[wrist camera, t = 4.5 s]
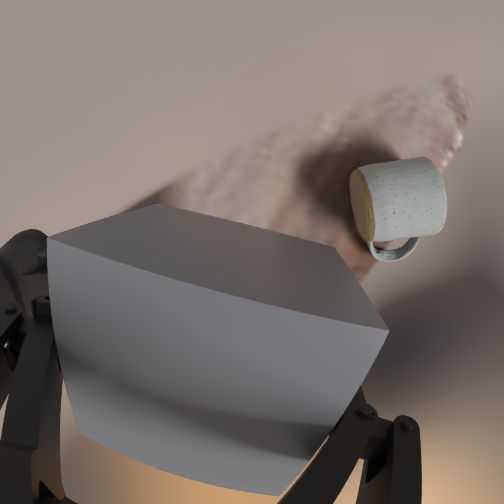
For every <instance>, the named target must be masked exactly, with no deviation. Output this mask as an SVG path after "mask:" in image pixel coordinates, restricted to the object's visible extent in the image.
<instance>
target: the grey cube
mask: <svg viewBox="0 0 504 504" xmlns="http://www.w3.org/2000/svg"><path fill="white" fill-rule="evenodd" d="M47 266H48V284H49V296H50V306H51V314H52V322H53V329H54V335H55V341H56V346H57V352H58V357H59V362H60V366H61V371H62V375H63V379H64V383H65V387H66V391H67V394H68V398H69V401H70V405H71V408H72V411H73V414H74V417H75V420H76V423H77V426H78V429H79V432H80V434H82V435H84V436H86V437H87V438H89V439H91V440H93V441H95V442H97V443H99V444H101V445H103V446H105V447H107V448H109V449H111V450H113V451H116V452H118V453H120V454H122V455H124V456H127V457H129V458H131V459H134V460H136V461H139V462H141V463H144V464H146V465H149V466H152V467H154V468H157V469H160V470H163V471H166V472H169V473H172V474H175V475H178V476H181V477H185V478H188V479H192V480H196V481H199V482H203V483H207V484H211V485H215V486H220V487H224V488H229V489H234V490H239V491H245V492H251V493H257V494H264V495H273V496H280V495H281V494H282V492H283V491H284V490H285V489H286V488H287V487H288V486H289V485H290V483H291V482H292V481H293V480H294V479H295V478H296V476H297V475H298V474H299V473H300V471H301V470H302V469H303V468H304V467H305V465H306V464H307V463H308V462H309V460H310V459H311V458H312V457H313V455H314V454H315V453H316V451H317V450H318V449H319V447H320V446H321V445H322V443H323V442H324V440H325V439H326V438H327V436H328V435H329V434H330V432H331V431H332V429H333V428H334V426H335V425H336V423H337V422H338V420H339V419H340V417H341V416H342V414H343V413H344V411H345V410H346V408H347V407H348V405H349V403H350V402H351V400H352V399H353V397H354V395H355V394H356V392H357V390H358V389H359V387H360V385H361V383H362V382H363V380H364V378H365V377H366V375H367V373H368V371H369V369H370V368H371V366H372V364H373V362H374V360H375V358H376V356H377V355H378V353H379V350H380V349H381V347H382V345H383V343H384V341H385V339H386V336H387V335H388V333H389V329H388V328H387V326H386V325H385V323H384V322H383V320H382V318H381V317H380V315H379V313H378V312H377V310H376V309H375V307H374V305H373V304H372V302H371V301H370V299H369V298H368V296H367V295H366V293H365V292H364V290H363V289H362V287H361V285H360V284H359V282H358V281H357V279H356V278H355V276H354V275H353V273H352V272H351V270H350V269H349V268H348V266H347V265H346V263H345V262H344V260H343V259H342V257H341V256H340V254H339V253H338V252H337V250H336V249H335V247H331V246H327V245H324V244H320V243H316V242H312V241H309V240H305V239H301V238H297V237H293V236H290V235H286V234H282V233H278V232H274V231H270V230H266V229H262V228H258V227H254V226H250V225H246V224H242V223H238V222H234V221H230V220H226V219H222V218H218V217H213V216H209V215H205V214H201V213H197V212H192V211H188V210H184V209H179V208H175V207H171V206H166V205H162V204H153V205H150V206H146V207H142V208H139V209H135V210H132V211H128V212H125V213H121V214H118V215H114V216H111V217H108V218H104V219H101V220H98V221H95V222H92V223H88V224H85V225H82V226H79V227H76V228H73V229H70V230H67V231H64V232H61V233H59V234H56V235H53V236H50V237H47Z"/></svg>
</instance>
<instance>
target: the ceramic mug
mask: <svg viewBox="0 0 504 504" xmlns="http://www.w3.org/2000/svg"><path fill="white" fill-rule="evenodd" d="M349 188H350V198H351V205H352V210H353V215H354V219H355V222H356V226H357V229H358V231H359V233H360V235H361V236H362V237H363V238H364V239H365V240H367V244H368V247H369V249H370V251H371V253H372V255H373V256H374V257H375V258H376V259H378V260H380V261H384V262H393V261H398V260H401V259H403V258H405V257H407V256H408V255H409V254H410V253H411V252H412V251H413V250H414V249H415V247H416V245H417V244H418V242H419V239H420V237H421V236H428V235H434V234H437V233H438V232H440V231H441V229H442V228H443V226H444V223H445V220H446V214H447V196H446V191H445V186H444V182H443V179H442V176H441V174H440V172H439V170H438V169H437V167H436V166H435V164H434V163H433V162H432V161H431V160H430V159H428V158H425V157H418V158H411V159H403V160H395V161H390V162H383V163H376V164H369V165H365V166H362V167H359V168H357V169H355V170H354V171H353V172H352V173H351V175H350V180H349ZM401 238H410V239H409V240H408V241H407V242H406V244H404V245H403V246H402V247H401V248H398V249H395V250H377V249H375V248H374V247H373V241H378V242H382V241H390V240H395V239H401Z"/></svg>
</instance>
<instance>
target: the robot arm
mask: <svg viewBox="0 0 504 504" xmlns="http://www.w3.org/2000/svg"><path fill="white" fill-rule="evenodd" d="M47 237H48V236H47V235H45V234H44V233H42V232H41V231H39V230H35V229H29V230H26V231H23V232H20V233H18V234H16V235H15V236H14V237H12V239H10V240H9V241H8V242H7V243H6V244H5V245H4V246H3V247H1V248H0V409H1V407H2V405H3V403H4V401H5V400H6V398H7V396H8V394H9V396H8V401H7V406H6V410H5V417H4V422H3V428H2V435H1V440H0V504H77V503H75V502H74V501H72V500H70V499H69V498H67V497H66V495H65V491H64V489H63V485H62V480H61V465H60V411H61V396H62V383H63V375H62V371H61V366H60V362H59V357H58V352H57V346H56V341H55V335H54V329H53V322H52V314H51V306H50V296H49V284H48V266H47ZM6 343H7V346H6V347H5V348H4V346H5V344H6ZM359 458H361V459H364V464H363V470H362V475H361V481H360V486H359V492H358V496H357V501H356V504H421V498H422V497H421V496H422V466H421V465H422V464H421V444H420V430H419V426H418V424H417V422H416V421H415V420H413V419H412V418H411V417H409V416H405V415H401V416H397V418H395V420H394V421H393V422H392V421H389V420H386V419H382V418H380V417H378V414H377V412H376V410H375V409H374V408H373V407H372V406H370V405H369V404H366V400H365V397H364V394H363V390H362V387H361V385H360V387H359V389H358V390H357V392H356V394H355V395H354V397H353V399H352V400H351V402H350V403H349V405H348V407H347V408H346V410H345V411H344V413H343V414H342V416H341V417H340V419H339V420H338V422H337V423H336V425H335V426H334V428H333V429H332V431H331V432H330V434H329V438H328V440H327V441H326V443H325V444H324V445H323V447H322V448H321V449H320V450H319V453H318V454H317V455H316V457H315V458H314V459H313V461H312V462H311V463H310V465H309V466H308V467H307V469H306V470H305V471H304V472H303V474H302V475H301V476H300V478H299V479H298V480H297V481H296V482H295V484H294V485H293V486H292V487H291V488H290V490H289V491H288V492H287V493H286V494H285V495H284V496H283V498H282V499H281V500H280V501H279V502H278V503H277V504H333V503H334V501H335V500H336V498H337V496H338V495H339V493H340V492H341V490H342V488H343V487H344V485H345V483H346V481H347V480H348V478H349V476H350V474H351V472H352V471H353V469H354V467H355V465H356V463H357V461H358V459H359Z"/></svg>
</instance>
